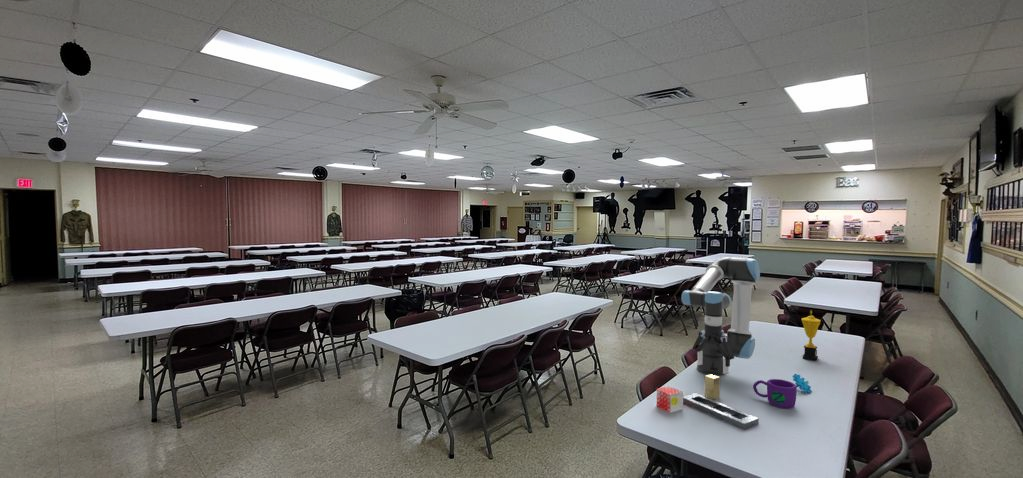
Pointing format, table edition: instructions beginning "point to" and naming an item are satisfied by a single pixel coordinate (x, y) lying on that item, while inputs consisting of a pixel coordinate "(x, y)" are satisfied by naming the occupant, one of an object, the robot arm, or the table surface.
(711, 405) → the rail
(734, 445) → the table surface
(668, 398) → the red patterned cube
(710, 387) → the brass peg
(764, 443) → the table surface
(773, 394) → the mug
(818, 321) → the trophy
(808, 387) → the gear
